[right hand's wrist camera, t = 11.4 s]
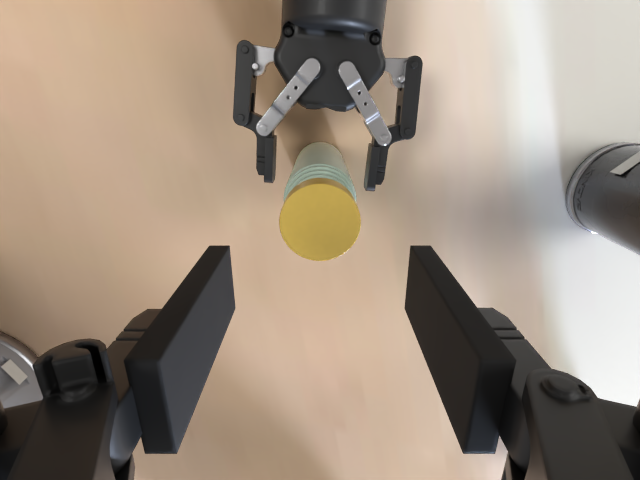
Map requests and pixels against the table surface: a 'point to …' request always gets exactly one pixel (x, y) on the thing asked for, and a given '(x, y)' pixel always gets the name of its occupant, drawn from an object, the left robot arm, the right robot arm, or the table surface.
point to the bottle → (320, 166)
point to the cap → (320, 219)
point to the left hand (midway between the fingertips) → (319, 185)
